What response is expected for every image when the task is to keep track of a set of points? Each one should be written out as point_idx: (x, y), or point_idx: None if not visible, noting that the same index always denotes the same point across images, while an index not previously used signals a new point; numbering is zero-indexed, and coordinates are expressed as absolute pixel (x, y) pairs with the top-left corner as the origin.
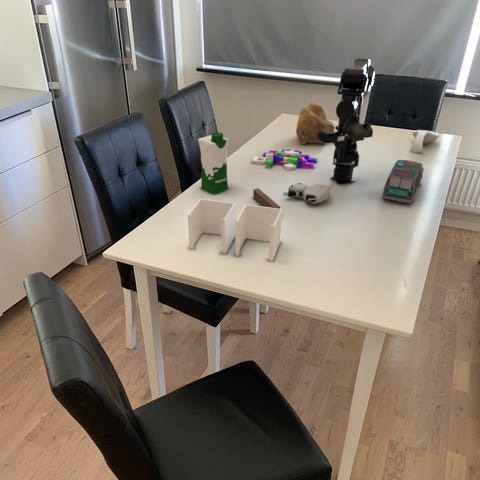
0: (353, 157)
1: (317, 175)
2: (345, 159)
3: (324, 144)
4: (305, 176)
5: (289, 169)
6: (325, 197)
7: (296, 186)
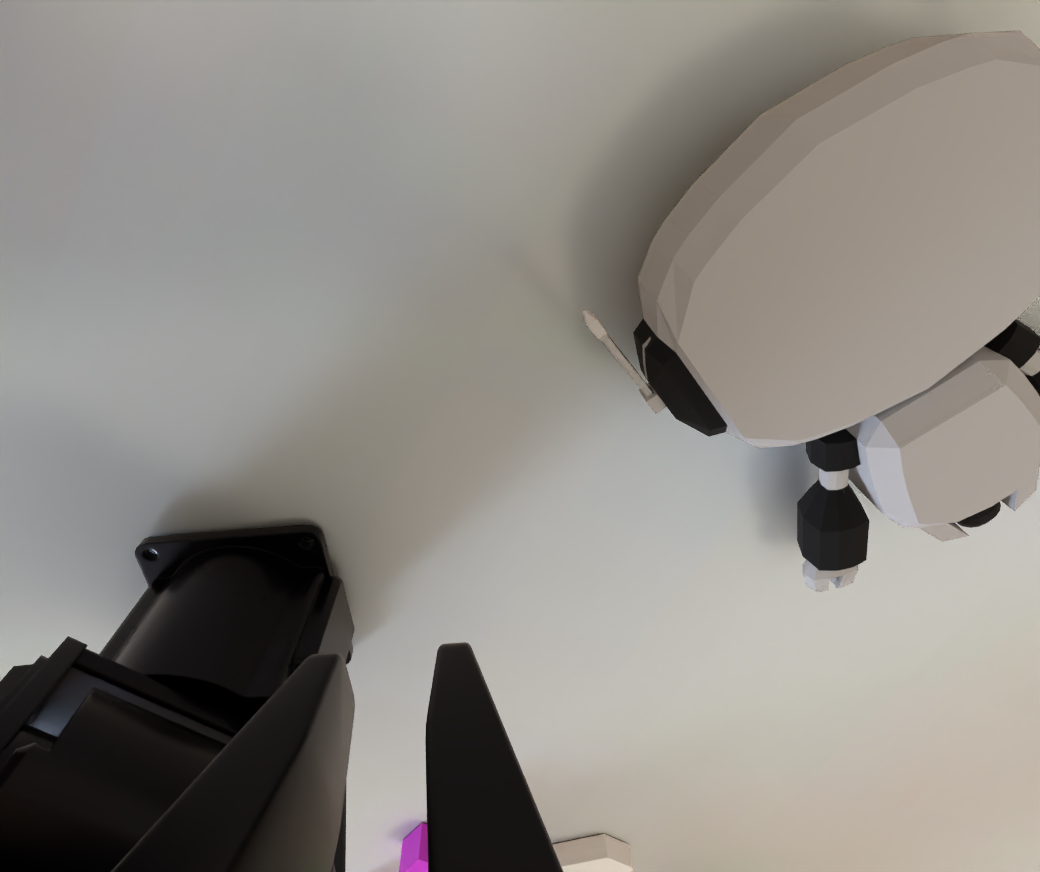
0: (25, 762)
1: None
2: (189, 766)
3: None
4: (555, 732)
5: (612, 841)
6: (840, 75)
7: (1016, 456)
